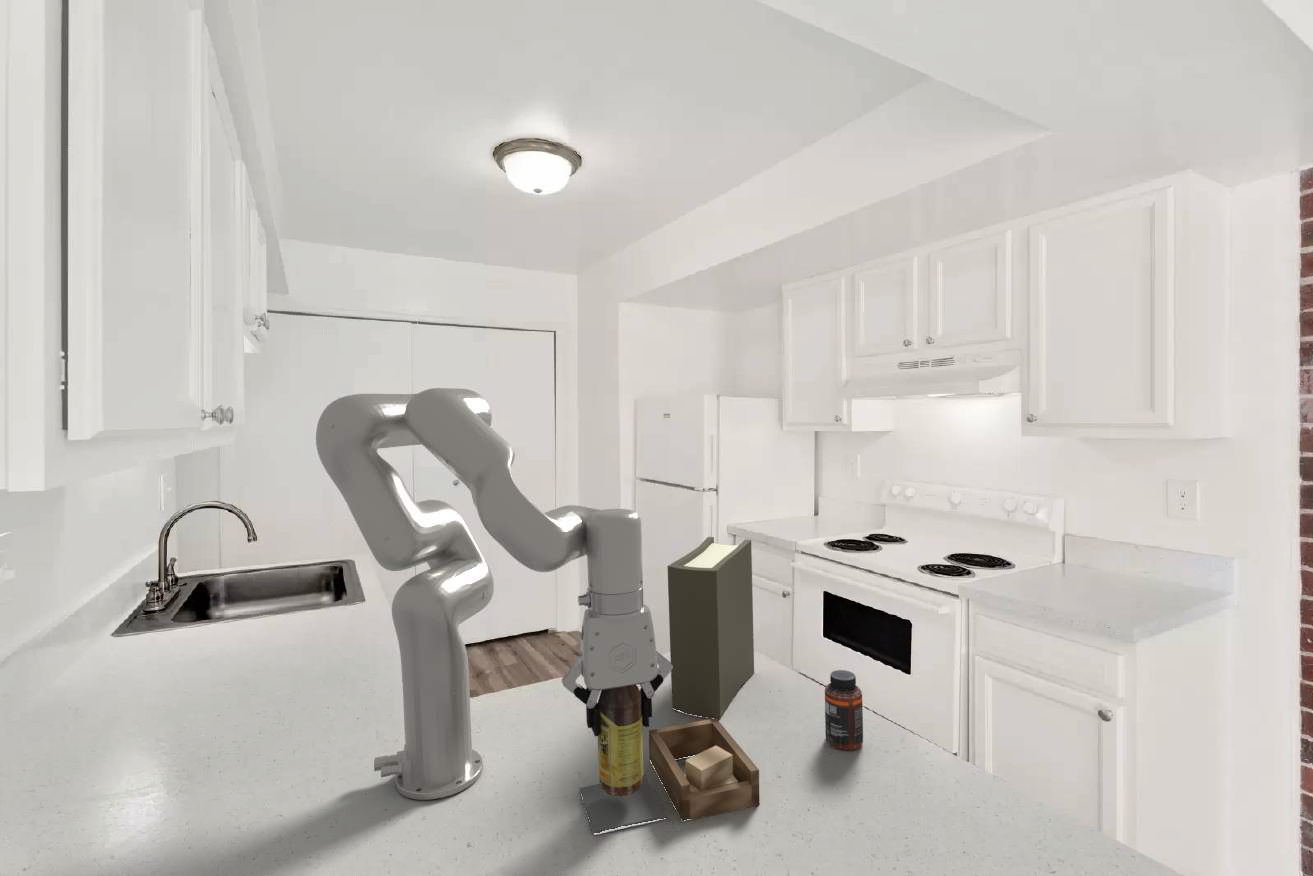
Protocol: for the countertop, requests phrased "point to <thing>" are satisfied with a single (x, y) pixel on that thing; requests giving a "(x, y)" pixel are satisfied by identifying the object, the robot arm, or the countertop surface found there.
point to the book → (710, 626)
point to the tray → (692, 742)
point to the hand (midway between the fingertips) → (619, 726)
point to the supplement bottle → (843, 711)
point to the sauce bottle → (620, 740)
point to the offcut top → (709, 768)
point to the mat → (621, 807)
